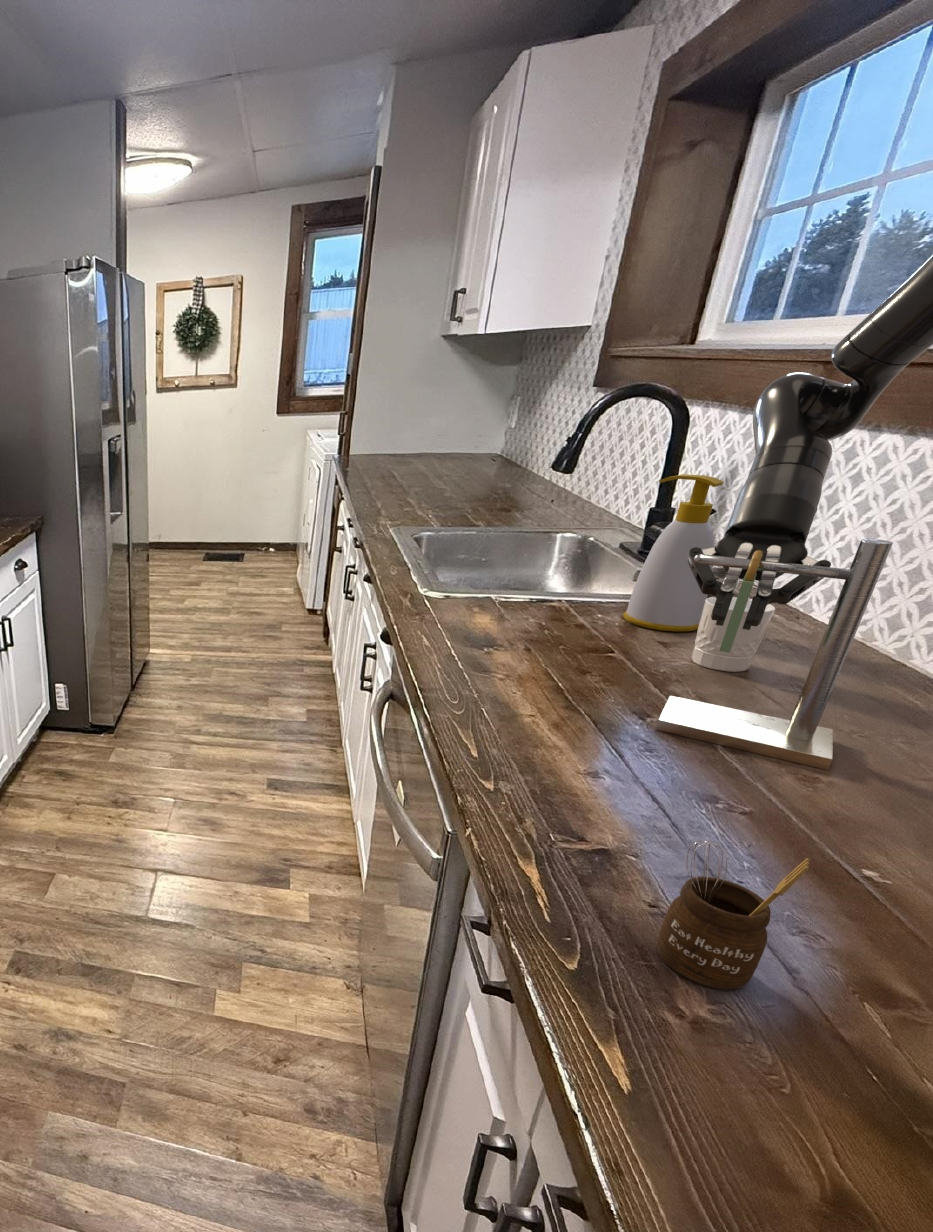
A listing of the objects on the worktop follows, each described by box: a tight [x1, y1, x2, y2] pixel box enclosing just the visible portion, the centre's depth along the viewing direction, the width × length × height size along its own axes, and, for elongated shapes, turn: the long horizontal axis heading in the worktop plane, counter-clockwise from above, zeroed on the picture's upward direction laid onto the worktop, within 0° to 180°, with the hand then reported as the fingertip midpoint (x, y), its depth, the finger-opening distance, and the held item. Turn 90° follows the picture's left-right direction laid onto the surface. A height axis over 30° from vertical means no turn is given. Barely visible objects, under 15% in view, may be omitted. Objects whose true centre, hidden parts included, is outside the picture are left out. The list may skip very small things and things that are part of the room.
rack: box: [654, 538, 894, 771], centre depth 88 cm, size 18×10×26 cm, turn 44°
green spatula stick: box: [719, 550, 763, 653], centre depth 89 cm, size 1×6×12 cm, turn 135°
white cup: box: [691, 596, 776, 673], centre depth 111 cm, size 8×8×10 cm
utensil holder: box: [656, 840, 810, 991], centre depth 56 cm, size 6×6×12 cm
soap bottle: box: [622, 474, 725, 633], centre depth 126 cm, size 11×12×26 cm
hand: (733, 624), depth 88 cm, fingers closed
